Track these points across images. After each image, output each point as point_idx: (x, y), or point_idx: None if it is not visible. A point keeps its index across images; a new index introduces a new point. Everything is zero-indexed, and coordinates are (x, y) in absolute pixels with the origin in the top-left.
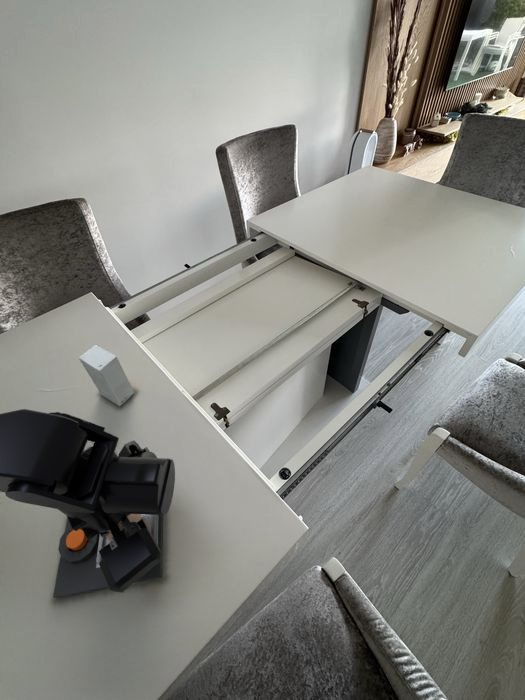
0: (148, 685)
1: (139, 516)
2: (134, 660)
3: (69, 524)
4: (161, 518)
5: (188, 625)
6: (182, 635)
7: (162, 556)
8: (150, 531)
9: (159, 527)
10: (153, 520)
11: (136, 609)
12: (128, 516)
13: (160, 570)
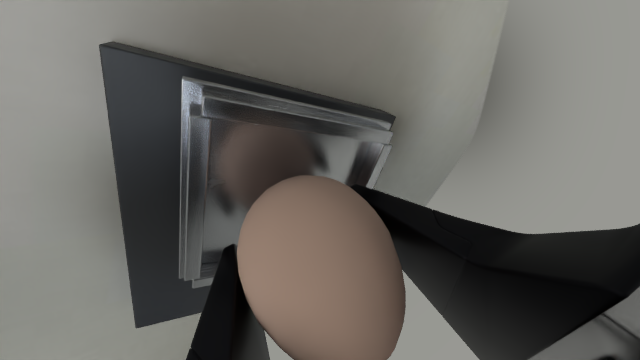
0: (462, 149)
1: (332, 202)
2: (434, 165)
3: (201, 307)
4: (263, 84)
5: (464, 75)
6: (464, 90)
7: (350, 102)
8: (322, 135)
9: (291, 98)
10: (306, 123)
11: (392, 162)
12: (381, 288)
13: (387, 114)
